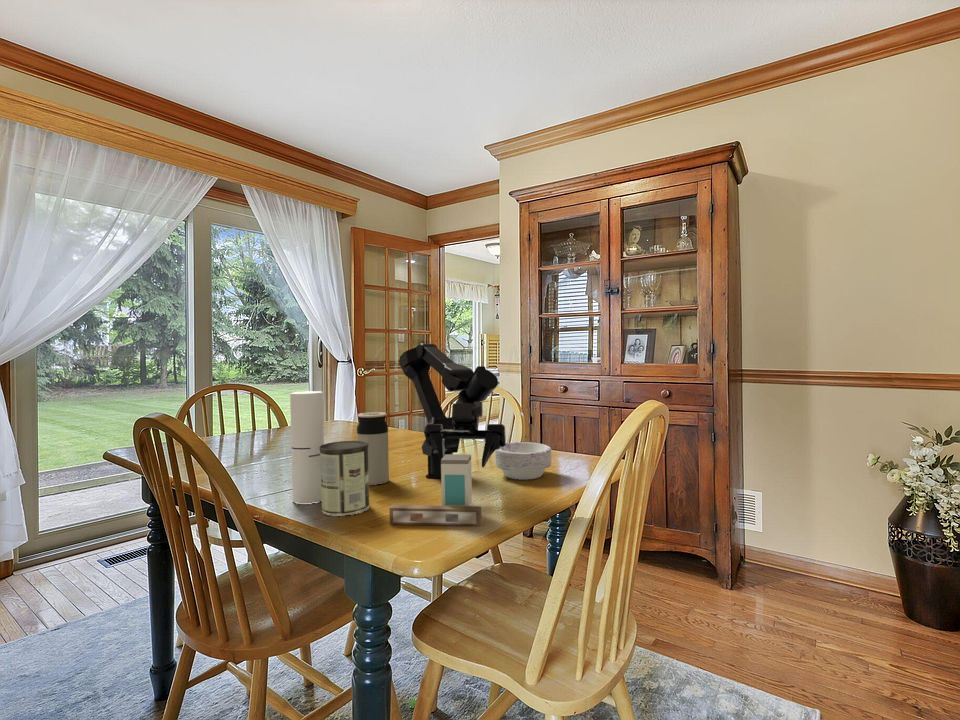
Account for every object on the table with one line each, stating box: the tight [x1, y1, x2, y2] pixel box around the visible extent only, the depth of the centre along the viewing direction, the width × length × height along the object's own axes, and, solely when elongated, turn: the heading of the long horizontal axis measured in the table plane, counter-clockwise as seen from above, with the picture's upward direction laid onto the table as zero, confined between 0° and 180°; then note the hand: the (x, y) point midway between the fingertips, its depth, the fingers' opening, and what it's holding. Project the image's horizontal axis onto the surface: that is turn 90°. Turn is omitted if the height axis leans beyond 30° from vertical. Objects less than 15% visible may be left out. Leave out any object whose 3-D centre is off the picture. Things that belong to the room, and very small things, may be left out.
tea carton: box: [440, 453, 473, 506], centre depth 104 cm, size 6×6×12 cm
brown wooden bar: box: [389, 504, 482, 527], centre depth 98 cm, size 18×3×3 cm, turn 84°
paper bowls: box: [494, 441, 552, 481], centre depth 135 cm, size 15×15×8 cm
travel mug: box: [356, 411, 390, 486], centre depth 131 cm, size 8×8×18 cm
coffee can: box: [319, 440, 371, 517], centre depth 109 cm, size 10×10×14 cm
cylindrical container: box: [289, 390, 325, 503], centre depth 116 cm, size 7×7×25 cm
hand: (462, 466), depth 112 cm, fingers open, 9 cm apart
